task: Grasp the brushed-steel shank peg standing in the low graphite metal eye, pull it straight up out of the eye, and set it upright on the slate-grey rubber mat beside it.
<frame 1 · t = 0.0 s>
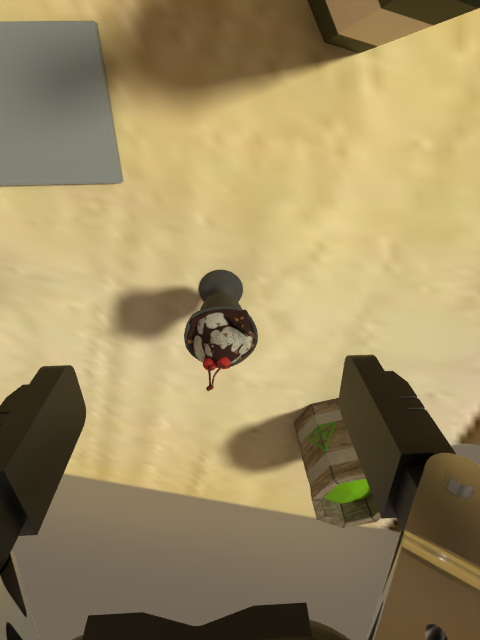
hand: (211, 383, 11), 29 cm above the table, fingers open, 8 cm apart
sundae: (221, 289, 42), on the table
slate mat: (42, 110, 32), on the table
mug: (344, 416, 53), on the table
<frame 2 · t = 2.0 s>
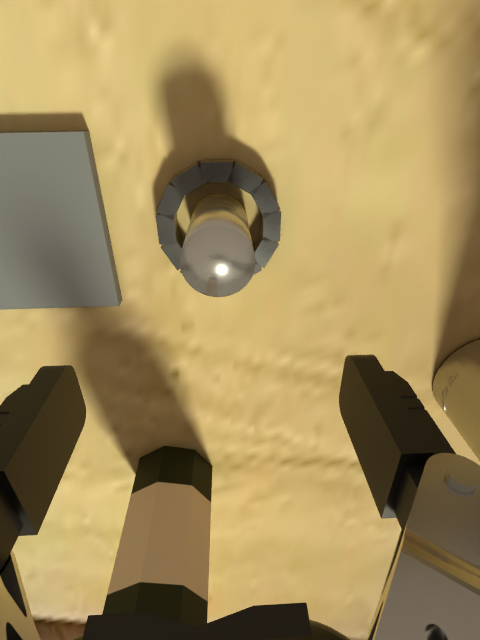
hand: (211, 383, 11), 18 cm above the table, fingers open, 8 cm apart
wine bottle: (174, 470, 40), on the table
slate mat: (22, 227, 26), on the table
steel shank: (218, 239, 23), in the metal eye
metal eye: (219, 222, 26), on the table
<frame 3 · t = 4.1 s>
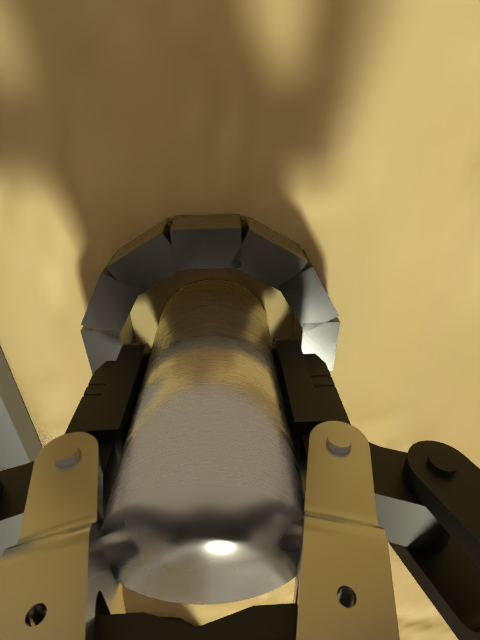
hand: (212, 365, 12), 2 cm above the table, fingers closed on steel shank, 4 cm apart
steel shank: (211, 403, 10), in the metal eye, touching gripper
metal eye: (214, 328, 14), on the table
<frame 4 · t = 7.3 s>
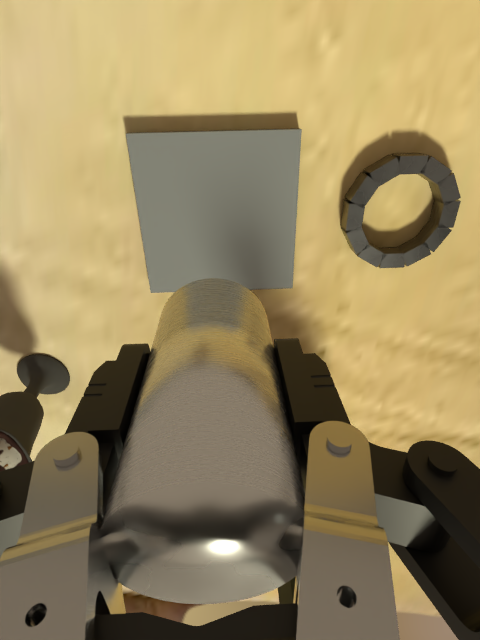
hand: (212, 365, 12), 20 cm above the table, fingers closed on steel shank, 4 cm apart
sundae: (44, 373, 36), on the table
wine bottle: (298, 446, 43), on the table
slate mat: (218, 216, 29), on the table
steel shank: (212, 402, 10), point 21 cm above the table, touching gripper
metal eye: (394, 211, 29), on the table
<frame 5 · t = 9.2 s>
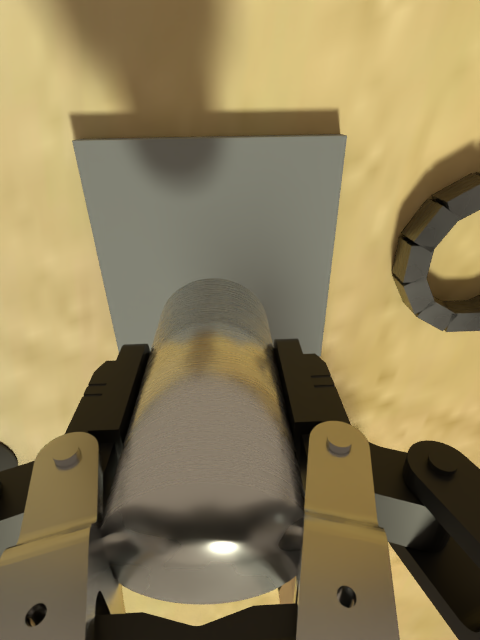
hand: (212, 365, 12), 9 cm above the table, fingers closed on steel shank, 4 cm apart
wine bottle: (317, 532, 34), on the table
slate mat: (217, 259, 20), on the table
steel shank: (211, 402, 10), point 11 cm above the table, touching gripper
metal eye: (470, 252, 20), on the table
when the fingers open (4 cm above the table, at t = 10.6 s): steel shank stays where it is, resting on slate mat.
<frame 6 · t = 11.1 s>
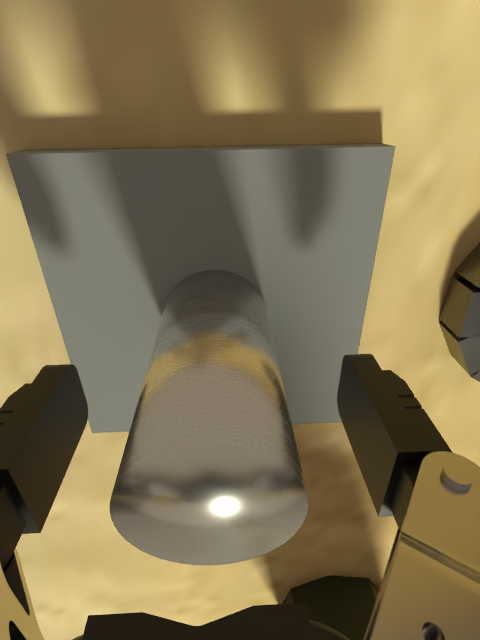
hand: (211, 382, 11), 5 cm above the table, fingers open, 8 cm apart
wine bottle: (330, 598, 29), on the table
slate mat: (214, 306, 15), on the table
steel shank: (213, 384, 11), on the slate mat, point 5 cm above the table
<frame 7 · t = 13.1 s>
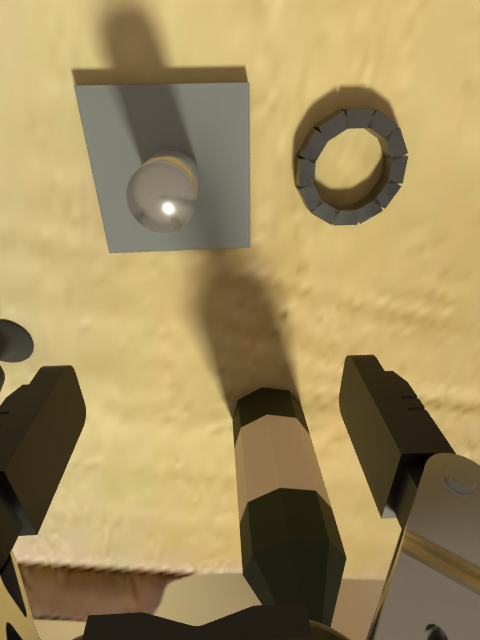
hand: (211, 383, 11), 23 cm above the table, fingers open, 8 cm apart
sundae: (7, 340, 36), on the table
wine bottle: (266, 412, 44), on the table
slate mat: (173, 173, 29), on the table
steel shank: (168, 186, 25), on the slate mat, point 5 cm above the table
metal eye: (346, 168, 30), on the table
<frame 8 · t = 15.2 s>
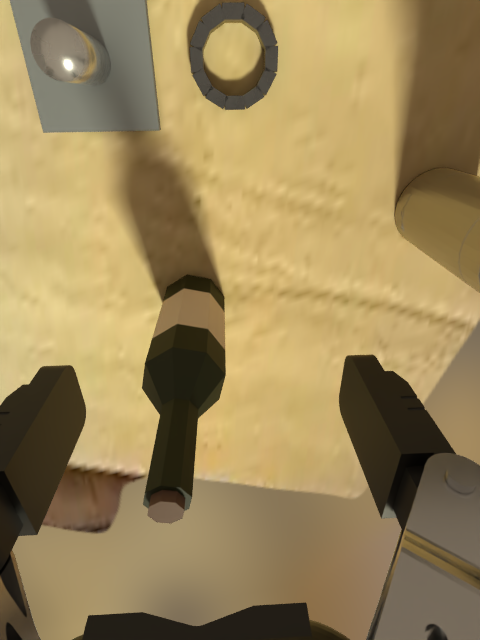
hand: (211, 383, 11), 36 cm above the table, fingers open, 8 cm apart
wine bottle: (194, 301, 50), on the table
slate mat: (92, 62, 36), on the table
steel shank: (75, 56, 32), on the slate mat, point 5 cm above the table
metal eye: (233, 60, 37), on the table
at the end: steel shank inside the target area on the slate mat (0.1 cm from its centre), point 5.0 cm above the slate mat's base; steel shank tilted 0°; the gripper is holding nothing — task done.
